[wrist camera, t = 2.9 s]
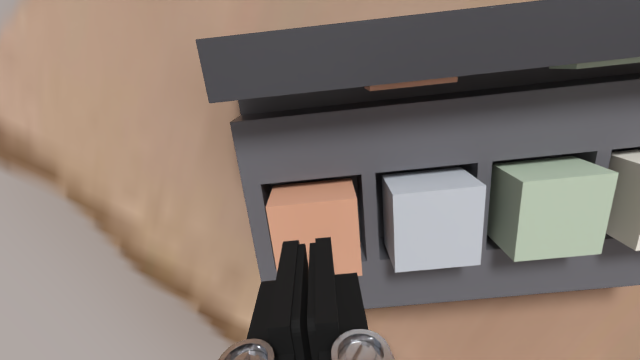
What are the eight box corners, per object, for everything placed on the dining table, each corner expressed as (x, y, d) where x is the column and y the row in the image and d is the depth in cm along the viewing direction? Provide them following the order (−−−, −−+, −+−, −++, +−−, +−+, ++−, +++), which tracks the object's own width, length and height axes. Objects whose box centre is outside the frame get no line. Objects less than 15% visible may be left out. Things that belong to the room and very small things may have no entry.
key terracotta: (351, 178, 15) (356, 198, 13) (356, 246, 16) (362, 275, 14) (273, 185, 15) (265, 207, 13) (284, 252, 16) (278, 283, 14)
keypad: (688, -4, 15) (883, -39, 10) (627, 243, 19) (740, 309, 14) (236, 47, 16) (195, 39, 10) (276, 275, 20) (261, 349, 15)
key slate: (460, 167, 15) (486, 185, 13) (457, 236, 16) (480, 264, 14) (381, 174, 15) (393, 194, 13) (384, 243, 16) (395, 272, 14)
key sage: (572, 155, 15) (618, 172, 12) (561, 226, 16) (600, 254, 14) (492, 163, 15) (523, 182, 13) (486, 233, 16) (514, 261, 14)
